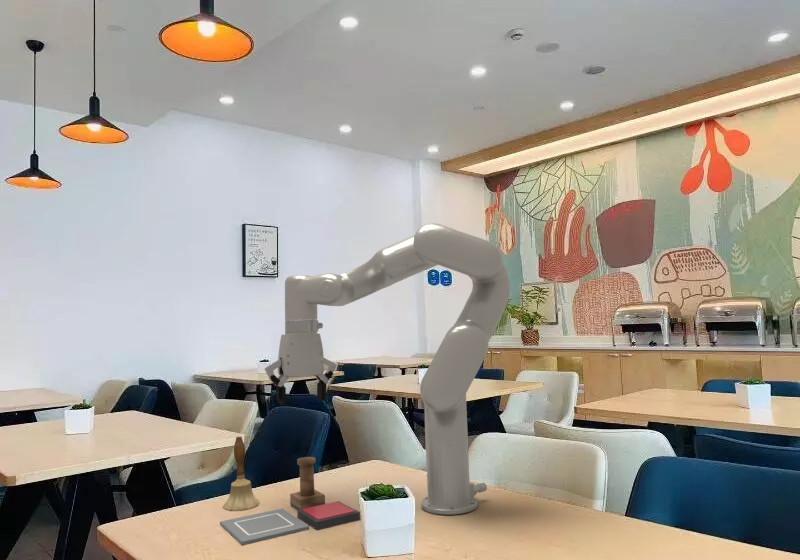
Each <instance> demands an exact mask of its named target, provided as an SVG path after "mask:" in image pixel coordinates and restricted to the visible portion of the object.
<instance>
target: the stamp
mask: <svg viewBox="0 0 800 560" xmlns="http://www.w3.org/2000/svg"><path fill="white" fill-rule="evenodd" d="M316 459H317V458H316V457H313V456H303V457H299V458H297V459H296V461H297V462H296V463H297V466H299V490H300V491H298V492H293V493H290V494H289V496H290V497H289V499H290V507H292V508H293V509H295V510H296V511H297V510H300V509H304V508H309V507H314V506H318V505H323V504H326V495H325V493H323V492H320V491H318V490H317V489H315V470H314V465H315V464H316Z"/></svg>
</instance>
